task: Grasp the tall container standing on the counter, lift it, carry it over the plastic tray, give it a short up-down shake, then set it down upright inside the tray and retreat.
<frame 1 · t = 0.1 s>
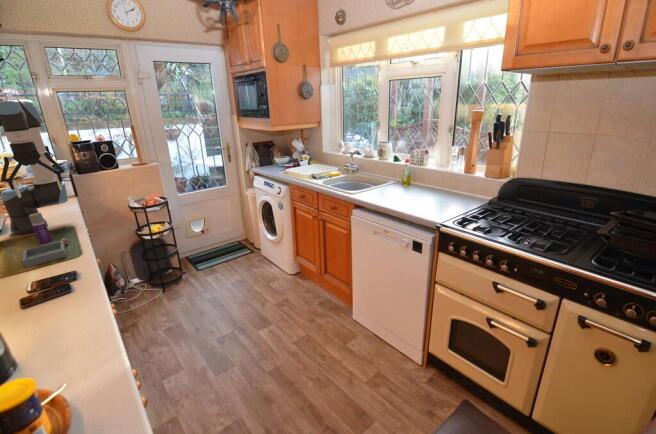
hand: (41, 193, 139), 28 cm above the countertop, fingers open, 13 cm apart
ball: (65, 244, 157), on the countertop
container: (46, 243, 160), on the countertop
tray: (46, 256, 146), on the countertop
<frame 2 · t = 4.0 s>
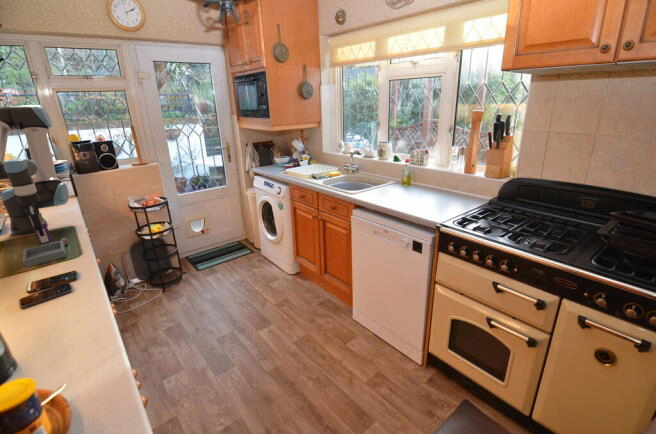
hand: (45, 239, 159), 2 cm above the countertop, fingers closed on container, 5 cm apart
container: (46, 243, 160), on the countertop, touching gripper
everything else where it was.
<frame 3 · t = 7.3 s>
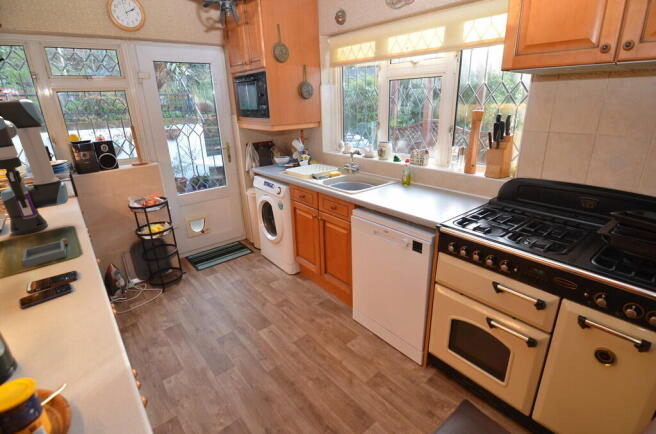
hand: (28, 212, 139), 20 cm above the countertop, fingers closed on container, 5 cm apart
container: (30, 217, 140), point 18 cm above the countertop, touching gripper
everything else where it was.
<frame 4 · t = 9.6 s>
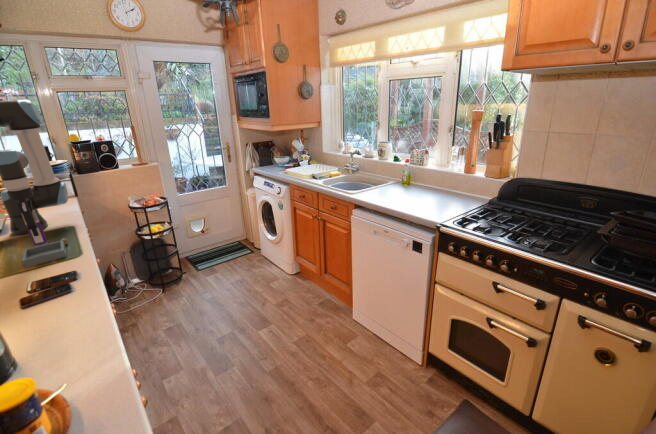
hand: (39, 240, 144), 8 cm above the countertop, fingers closed on container, 5 cm apart
container: (41, 244, 144), point 6 cm above the countertop, touching gripper
everything else where it was.
when the fingers open (4 cm above the countertop, at t = 11.1 s): container drops 1 cm, resting on tray.
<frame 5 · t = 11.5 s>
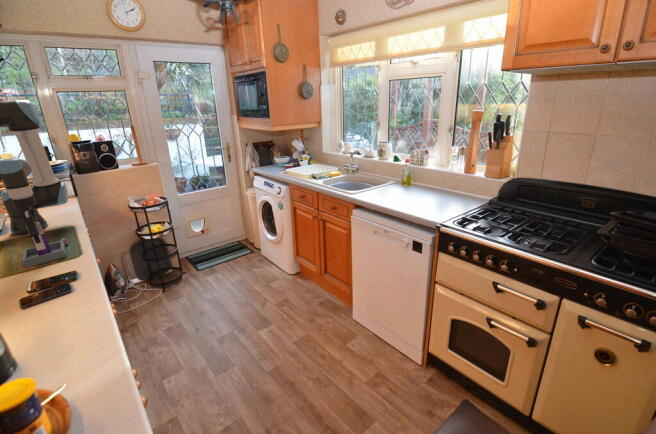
hand: (41, 245, 144), 5 cm above the countertop, fingers open, 10 cm apart
container: (45, 255, 146), resting on tray
everything else where it was.
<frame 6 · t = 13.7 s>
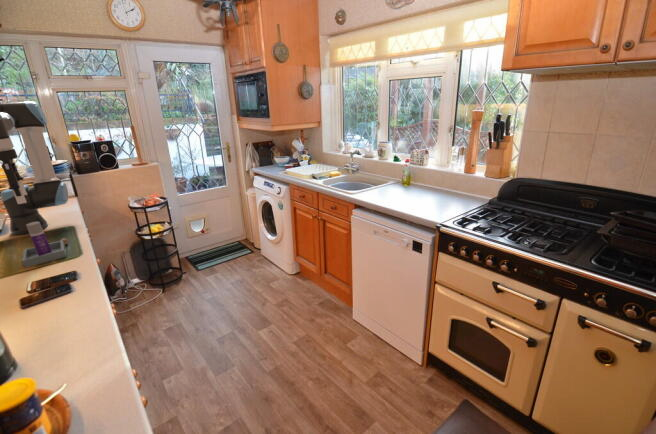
hand: (22, 199, 142), 25 cm above the countertop, fingers open, 13 cm apart
nothing on the countertop moved.
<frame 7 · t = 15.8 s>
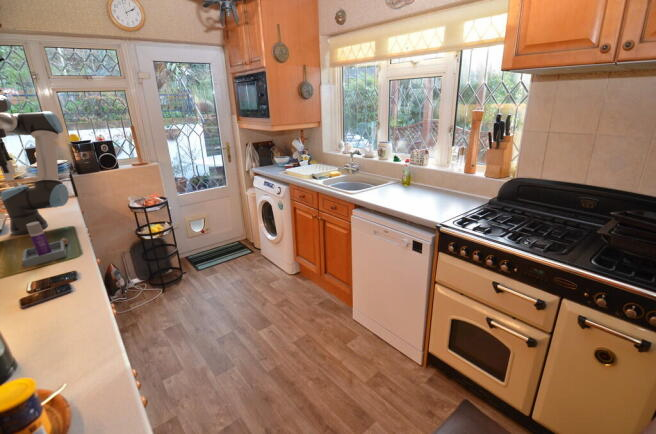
hand: (11, 177, 148), 33 cm above the countertop, fingers open, 13 cm apart
nothing on the countertop moved.
at the end: container inside the target area on the tray (0.1 cm from its centre), point 0.4 cm above the tray's base; container tilted 0°; the gripper is holding nothing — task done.
